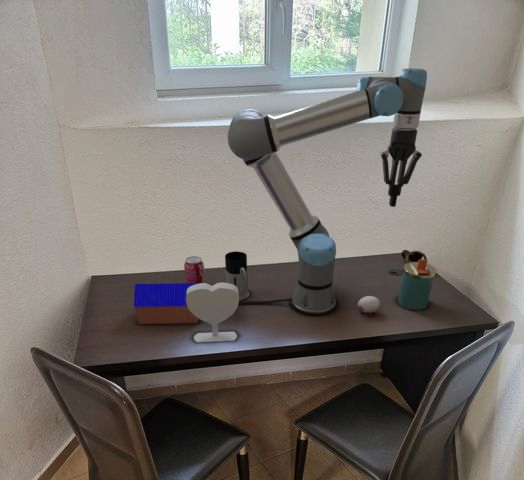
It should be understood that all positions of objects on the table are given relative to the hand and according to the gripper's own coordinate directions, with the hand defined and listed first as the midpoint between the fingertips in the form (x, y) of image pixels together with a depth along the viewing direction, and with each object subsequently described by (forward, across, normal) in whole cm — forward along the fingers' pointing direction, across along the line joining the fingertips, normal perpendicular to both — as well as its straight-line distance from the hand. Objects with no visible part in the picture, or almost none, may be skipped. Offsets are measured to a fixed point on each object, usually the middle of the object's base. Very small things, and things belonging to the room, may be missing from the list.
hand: (392, 205), depth 154 cm
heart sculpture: (+31, -59, -31) cm, 74 cm away
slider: (+17, +9, -15) cm, 24 cm away
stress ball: (+31, -8, -17) cm, 36 cm away
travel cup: (+30, +9, -12) cm, 34 cm away
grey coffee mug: (+31, -52, -7) cm, 61 cm away
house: (+31, -75, -17) cm, 83 cm away
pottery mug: (+31, +17, +15) cm, 38 cm away
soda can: (+31, -68, 0) cm, 74 cm away
